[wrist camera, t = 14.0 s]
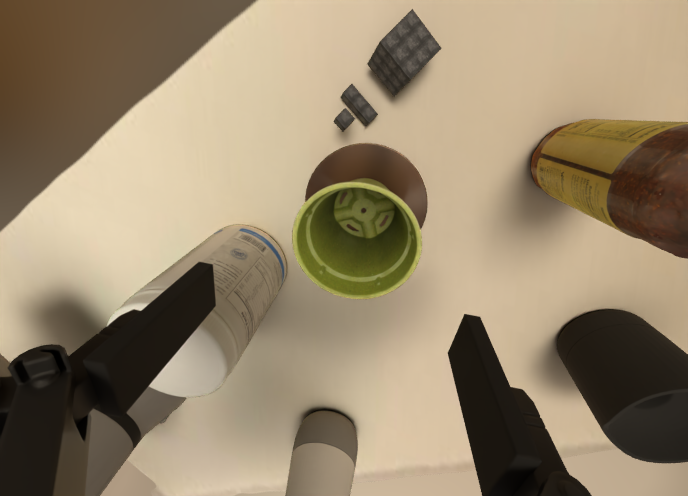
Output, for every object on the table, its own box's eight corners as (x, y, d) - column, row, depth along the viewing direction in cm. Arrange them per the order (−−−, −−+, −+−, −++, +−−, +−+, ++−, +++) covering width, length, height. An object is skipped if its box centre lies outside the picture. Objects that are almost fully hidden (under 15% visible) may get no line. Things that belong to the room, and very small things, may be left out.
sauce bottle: (584, 200, 26) (974, 404, 9) (514, 185, 27) (754, 354, 9) (630, 121, 23) (1377, 191, 6) (550, 106, 23) (1024, 125, 6)
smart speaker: (300, 399, 44) (264, 514, 32) (360, 408, 43) (348, 531, 31) (303, 437, 49) (273, 551, 36) (358, 445, 48) (347, 567, 35)
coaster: (302, 247, 33) (300, 249, 32) (312, 132, 27) (310, 133, 27) (409, 268, 32) (409, 270, 31) (442, 155, 26) (443, 156, 26)
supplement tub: (227, 295, 37) (139, 400, 24) (198, 227, 33) (74, 308, 20) (299, 290, 35) (245, 401, 22) (276, 216, 31) (195, 298, 18)
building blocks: (441, 48, 21) (362, 129, 20) (409, 81, 26) (346, 146, 26) (412, 9, 20) (329, 92, 19) (385, 51, 25) (320, 117, 25)
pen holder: (537, 361, 35) (587, 450, 26) (573, 297, 31) (647, 378, 22) (622, 375, 34) (703, 472, 25) (671, 312, 30) (789, 402, 21)
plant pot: (343, 139, 26) (323, 156, 19) (433, 189, 27) (449, 224, 20) (303, 223, 31) (274, 265, 23) (382, 264, 32) (379, 317, 24)
